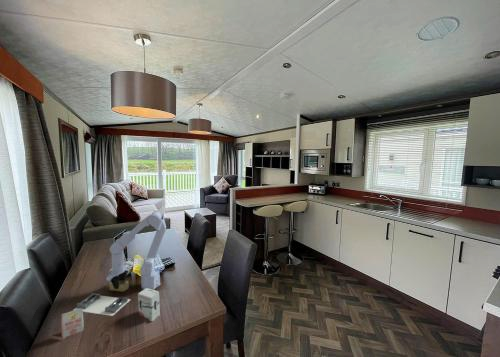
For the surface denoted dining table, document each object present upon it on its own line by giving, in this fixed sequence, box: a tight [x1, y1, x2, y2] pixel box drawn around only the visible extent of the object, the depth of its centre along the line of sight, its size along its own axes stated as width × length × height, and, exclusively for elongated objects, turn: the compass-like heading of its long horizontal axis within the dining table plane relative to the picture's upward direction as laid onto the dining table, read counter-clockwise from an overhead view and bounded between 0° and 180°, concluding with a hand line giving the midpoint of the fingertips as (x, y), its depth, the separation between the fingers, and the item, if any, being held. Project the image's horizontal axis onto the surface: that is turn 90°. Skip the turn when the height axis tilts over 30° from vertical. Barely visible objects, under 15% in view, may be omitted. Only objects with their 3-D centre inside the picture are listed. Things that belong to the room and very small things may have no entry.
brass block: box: [108, 280, 130, 292], centre depth 120 cm, size 9×4×4 cm, turn 81°
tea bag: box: [60, 308, 85, 341], centre depth 90 cm, size 4×7×10 cm, turn 124°
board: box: [72, 295, 132, 317], centre depth 107 cm, size 22×12×1 cm, turn 81°
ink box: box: [137, 288, 161, 322], centre depth 100 cm, size 8×5×12 cm, turn 69°
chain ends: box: [76, 293, 129, 314], centre depth 107 cm, size 21×9×2 cm, turn 81°
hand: (119, 286), depth 120 cm, fingers closed on brass block, 4 cm apart
